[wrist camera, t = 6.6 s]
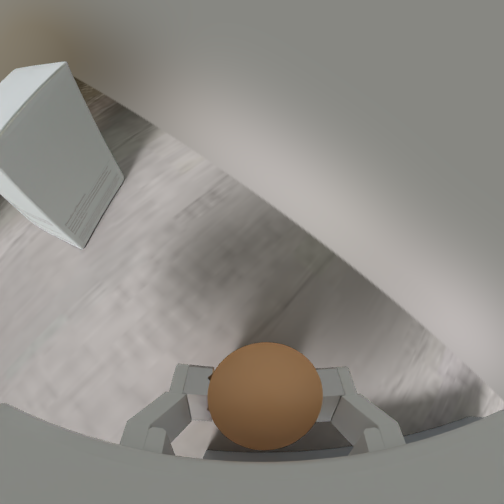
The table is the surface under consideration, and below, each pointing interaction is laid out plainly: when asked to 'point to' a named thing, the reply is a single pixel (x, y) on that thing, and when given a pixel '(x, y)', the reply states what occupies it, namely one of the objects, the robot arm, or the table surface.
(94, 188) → the supplement box
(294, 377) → the orange smooth rounded part
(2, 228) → the table surface
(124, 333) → the table surface
